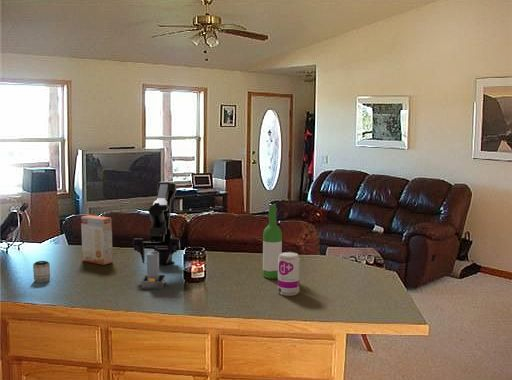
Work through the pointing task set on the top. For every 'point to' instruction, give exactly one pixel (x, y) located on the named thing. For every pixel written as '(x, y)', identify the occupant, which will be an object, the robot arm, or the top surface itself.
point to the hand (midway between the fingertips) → (154, 262)
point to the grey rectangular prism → (153, 265)
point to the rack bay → (153, 282)
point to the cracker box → (96, 239)
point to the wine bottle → (271, 246)
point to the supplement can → (288, 273)
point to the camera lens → (41, 271)
